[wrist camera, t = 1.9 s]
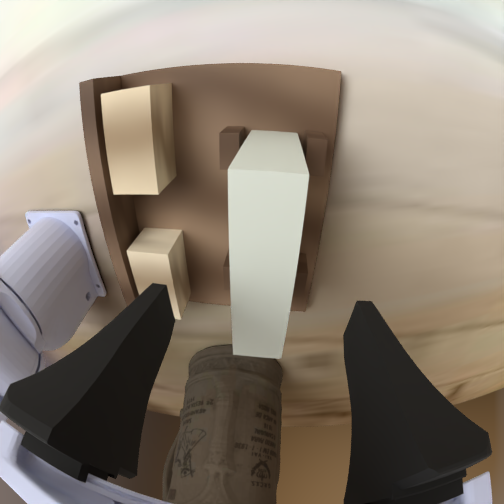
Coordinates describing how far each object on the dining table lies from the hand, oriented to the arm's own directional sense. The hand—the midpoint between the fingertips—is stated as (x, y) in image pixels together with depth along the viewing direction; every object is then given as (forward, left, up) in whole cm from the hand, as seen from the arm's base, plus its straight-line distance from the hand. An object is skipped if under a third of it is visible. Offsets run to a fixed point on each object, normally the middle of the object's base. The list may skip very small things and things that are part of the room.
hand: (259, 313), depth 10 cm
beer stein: (-22, +4, -10) cm, 24 cm away
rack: (0, +4, -10) cm, 10 cm away
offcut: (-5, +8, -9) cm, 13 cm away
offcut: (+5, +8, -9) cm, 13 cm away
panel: (0, 0, -9) cm, 9 cm away
